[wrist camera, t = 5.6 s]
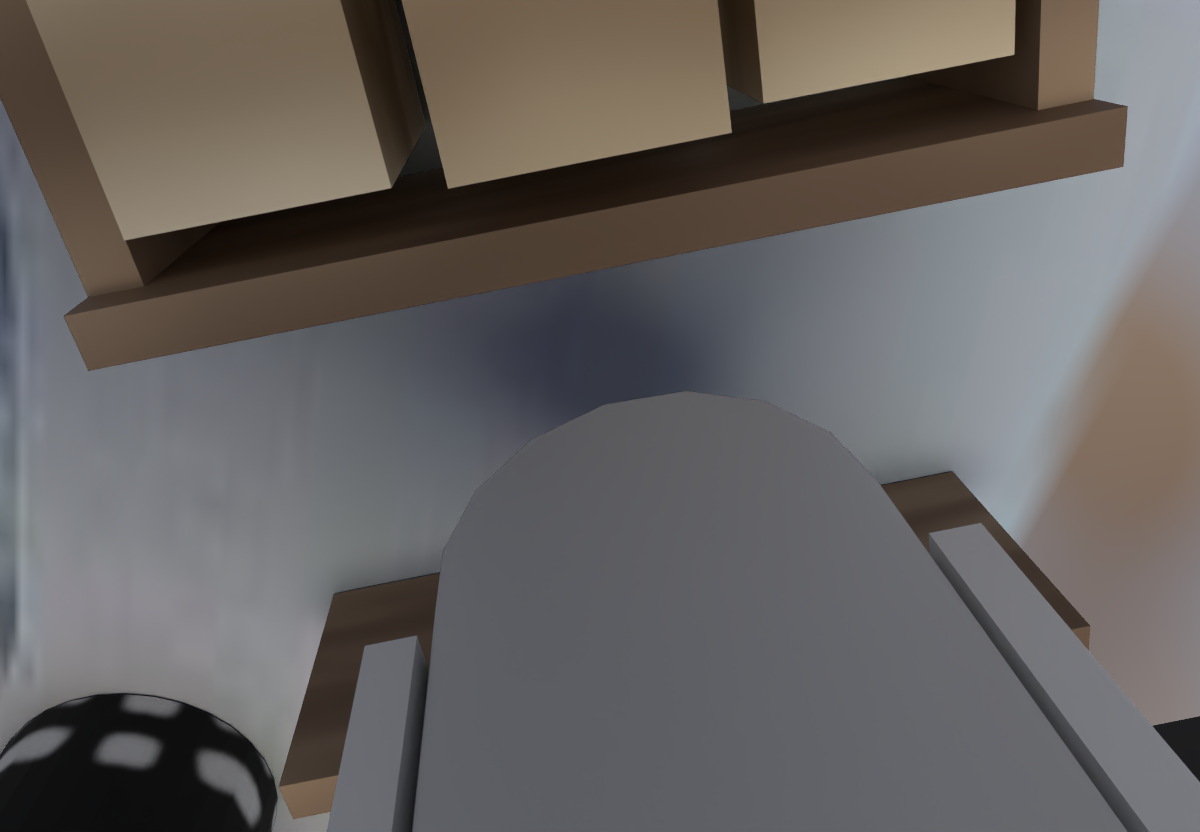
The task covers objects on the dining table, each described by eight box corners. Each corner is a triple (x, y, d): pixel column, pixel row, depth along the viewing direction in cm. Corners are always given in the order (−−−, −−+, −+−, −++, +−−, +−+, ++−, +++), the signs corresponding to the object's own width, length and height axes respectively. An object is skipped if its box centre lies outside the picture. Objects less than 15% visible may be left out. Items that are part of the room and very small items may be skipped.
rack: (44, -181, 18) (-202, -265, 12) (944, -358, 18) (1173, -533, 12) (344, 621, 27) (293, 819, 21) (952, 501, 27) (1087, 660, 21)
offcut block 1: (155, -81, 19) (-20, -109, 13) (364, -122, 19) (293, -170, 13) (238, 162, 21) (124, 240, 15) (426, 125, 21) (391, 188, 15)
